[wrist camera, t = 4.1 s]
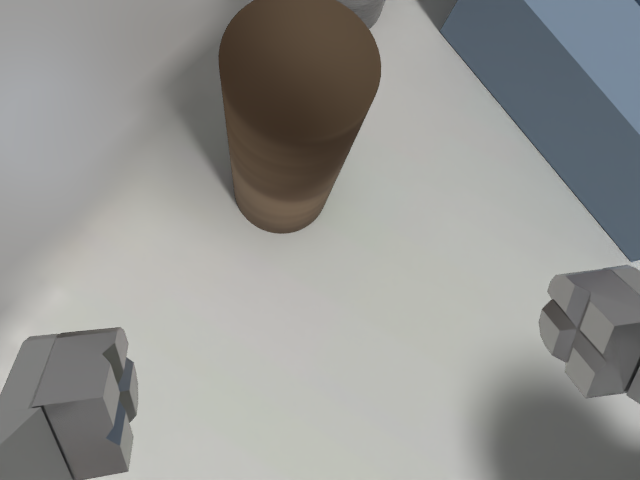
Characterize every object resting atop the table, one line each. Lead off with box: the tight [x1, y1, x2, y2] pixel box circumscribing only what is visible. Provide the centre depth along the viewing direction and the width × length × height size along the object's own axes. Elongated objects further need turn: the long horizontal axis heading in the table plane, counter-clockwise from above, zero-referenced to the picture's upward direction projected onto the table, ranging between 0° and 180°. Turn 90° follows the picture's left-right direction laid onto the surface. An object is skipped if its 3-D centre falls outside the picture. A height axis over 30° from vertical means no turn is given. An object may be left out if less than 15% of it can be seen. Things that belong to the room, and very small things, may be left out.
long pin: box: [219, 0, 381, 234], centre depth 18 cm, size 4×4×10 cm
